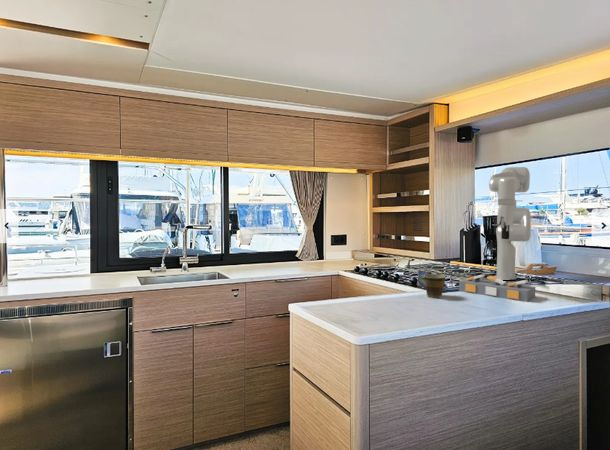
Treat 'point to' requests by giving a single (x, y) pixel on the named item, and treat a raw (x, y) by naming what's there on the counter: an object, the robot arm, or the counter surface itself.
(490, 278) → the switch
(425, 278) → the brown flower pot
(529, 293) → the switch box
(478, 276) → the switch
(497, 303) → the counter surface
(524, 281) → the switch
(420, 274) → the flask
